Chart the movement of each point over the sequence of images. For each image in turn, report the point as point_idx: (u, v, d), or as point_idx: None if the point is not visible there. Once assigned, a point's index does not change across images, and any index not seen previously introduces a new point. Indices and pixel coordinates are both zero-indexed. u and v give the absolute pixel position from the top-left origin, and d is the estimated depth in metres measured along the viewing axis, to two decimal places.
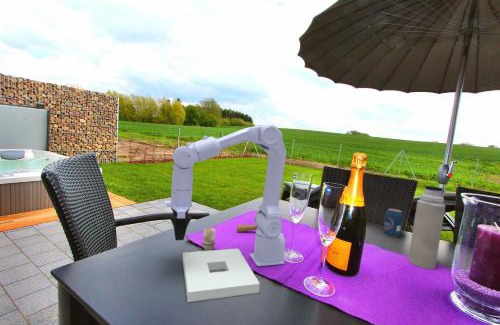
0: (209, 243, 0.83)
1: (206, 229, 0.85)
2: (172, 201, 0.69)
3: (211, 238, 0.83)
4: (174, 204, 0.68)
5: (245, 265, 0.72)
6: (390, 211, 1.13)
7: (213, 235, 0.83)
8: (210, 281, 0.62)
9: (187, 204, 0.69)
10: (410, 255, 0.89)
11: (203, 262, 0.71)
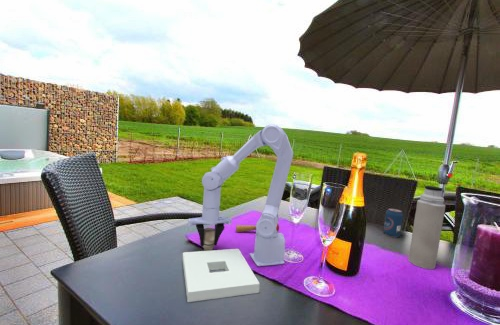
0: (209, 243, 0.83)
1: (206, 229, 0.85)
2: None
3: (211, 238, 0.83)
4: None
5: (245, 265, 0.72)
6: (390, 211, 1.13)
7: (213, 235, 0.83)
8: (210, 281, 0.62)
9: (204, 219, 0.82)
10: (410, 255, 0.89)
11: (203, 262, 0.71)
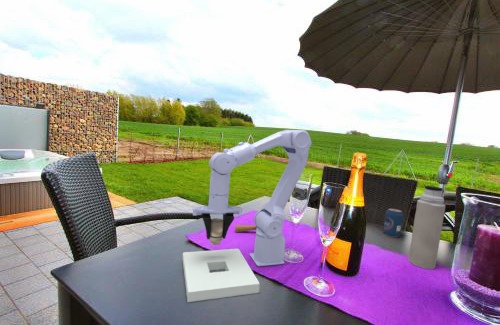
0: (216, 235, 0.72)
1: (213, 219, 0.74)
2: None
3: (219, 230, 0.72)
4: None
5: (245, 265, 0.72)
6: (390, 211, 1.13)
7: (221, 226, 0.73)
8: (210, 281, 0.62)
9: (211, 208, 0.71)
10: (410, 255, 0.89)
11: (203, 262, 0.71)
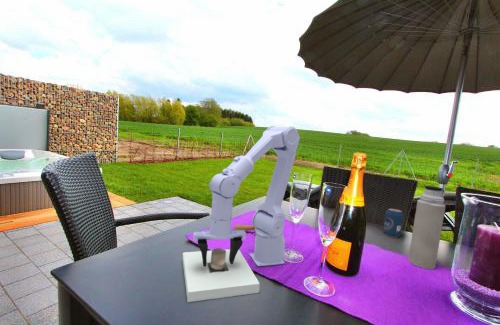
0: (218, 268, 0.68)
1: (214, 250, 0.70)
2: None
3: (221, 262, 0.68)
4: None
5: (245, 265, 0.72)
6: (390, 211, 1.13)
7: (223, 258, 0.68)
8: (210, 281, 0.62)
9: (213, 233, 0.67)
10: (410, 255, 0.89)
11: None
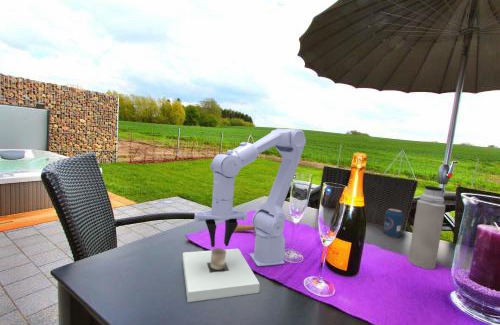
0: (218, 268, 0.68)
1: (215, 250, 0.70)
2: None
3: (221, 262, 0.68)
4: None
5: (245, 265, 0.72)
6: (390, 211, 1.13)
7: (223, 258, 0.68)
8: (210, 281, 0.62)
9: (214, 214, 0.66)
10: (410, 255, 0.89)
11: (203, 262, 0.71)
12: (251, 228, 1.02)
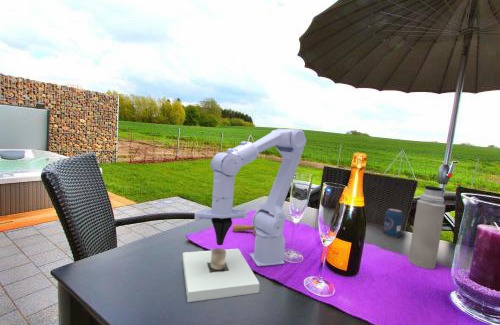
0: (218, 268, 0.68)
1: (215, 250, 0.70)
2: None
3: (221, 262, 0.68)
4: None
5: (245, 265, 0.72)
6: (390, 211, 1.13)
7: (223, 258, 0.68)
8: (210, 281, 0.62)
9: (214, 212, 0.66)
10: (410, 255, 0.89)
11: (203, 262, 0.71)
12: (250, 228, 1.02)
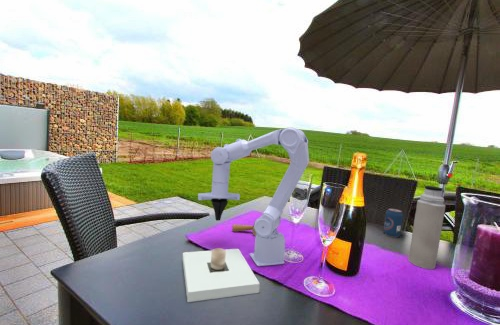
0: (218, 268, 0.68)
1: (214, 250, 0.70)
2: None
3: (221, 262, 0.68)
4: None
5: (245, 265, 0.72)
6: (390, 211, 1.13)
7: (223, 258, 0.68)
8: (210, 281, 0.62)
9: (213, 194, 0.84)
10: (410, 255, 0.89)
11: (203, 262, 0.71)
12: (250, 228, 1.02)
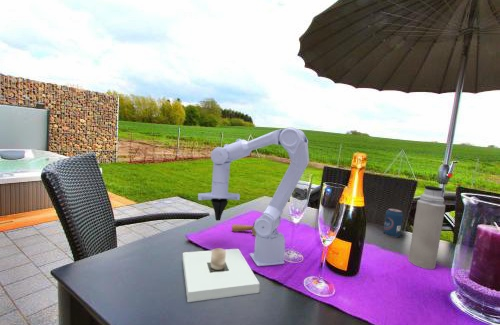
0: (218, 268, 0.68)
1: (214, 250, 0.70)
2: None
3: (221, 262, 0.68)
4: None
5: (245, 265, 0.72)
6: (390, 211, 1.13)
7: (223, 258, 0.68)
8: (210, 281, 0.62)
9: (213, 194, 0.84)
10: (410, 255, 0.89)
11: (203, 262, 0.71)
12: (249, 228, 1.02)
